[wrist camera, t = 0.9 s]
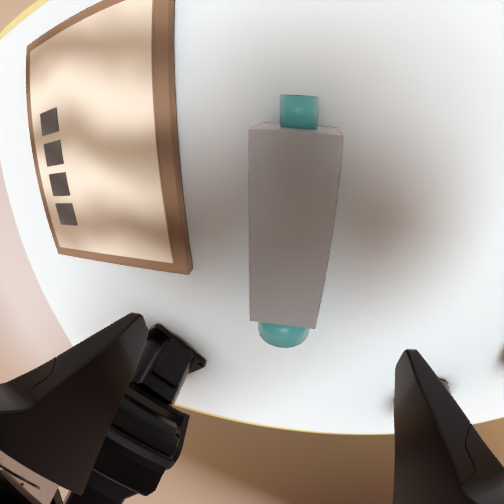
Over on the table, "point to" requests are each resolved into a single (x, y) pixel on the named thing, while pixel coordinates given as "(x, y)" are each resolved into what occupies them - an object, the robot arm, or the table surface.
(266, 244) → the marker
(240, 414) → the table surface
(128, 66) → the brown framed board
